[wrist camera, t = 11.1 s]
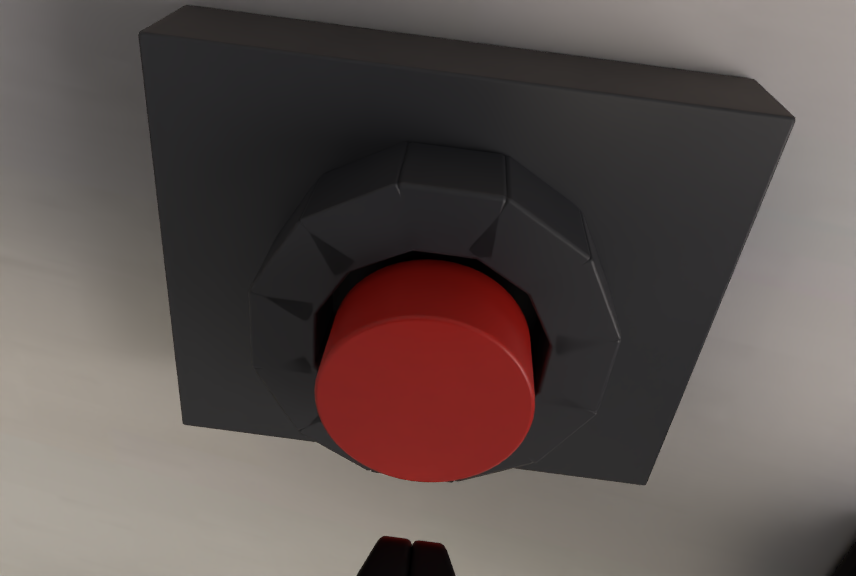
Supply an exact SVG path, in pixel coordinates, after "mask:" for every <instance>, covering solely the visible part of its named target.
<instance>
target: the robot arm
mask: <svg viewBox="0 0 856 576" xmlns="http://www.w3.org/2000/svg"><path fill="white" fill-rule="evenodd" d="M357 576H455V573H454V570H453V567H452V564H451V561H450V558H449V555H448V552H447V550H446V548H445V546H444V545H442V544H441V543H435V542H427V541H420V540H418V541H415V542H414V543H413V545H412V544H411V541H410V540H408V539H405V538H397V537H389V536H383V537H381V538H380V539H379V540H378V541H377V543H376V544H375V546H374V548H373V549H372V551H371V552H370V554H369V556H368V557H367V559H366V561H365V562H364V564H363V566H362V567H361V569H360V571H359V572H358V574H357ZM832 576H856V542H855V543H854V545H853V546H852V548H851V549H850V551H849V552H848V554H847V555H846V556H845V558H844V559H843V561H842V562H841V564H840V565H839V566H838V568H837V569H836V571H835V572H834V574H833V575H832Z"/></svg>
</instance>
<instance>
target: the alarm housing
mask: <svg viewBox="0 0 856 576" xmlns="http://www.w3.org/2000/svg"><path fill="white" fill-rule="evenodd" d="M139 44H140V53H141V61H142V70H143V79H144V88H145V96H146V105H147V114H148V123H149V131H150V140H151V149H152V158H153V166H154V175H155V184H156V193H157V201H158V210H159V219H160V228H161V236H162V245H163V254H164V263H165V271H166V280H167V289H168V298H169V306H170V315H171V324H172V333H173V341H174V350H175V359H176V368H177V376H178V385H179V394H180V403H181V411H182V420H183V424H184V425H191V426H198V427H206V428H213V429H221V430H229V431H236V432H244V433H251V434H259V435H266V436H274V437H282V438H289V439H297V440H304V441H312V442H317V443H319V444H321V445H323V446H324V447H326V448H328V449H330V450H332V451H333V452H335V453H337V454H339V455H341V456H343V457H344V458H346V459H348V460H350V461H352V462H353V463H355V464H357V465H359V466H361V467H362V468H364V469H366V470H369V471H370V470H371V471H372V472H376V473H380V472H377V471H375V470H373V469H371V468H369V467H367V466H365V465H363V464H361V463H360V462H358V461H356V460H355V459H353V458H352V457H351V456H349V455H348V454H347V453H346V452H344V451H343V450H342V449H341V448H340V447H339V446H338V445H337V444H336V443H335V442H334V441H333V439H332V438H331V437H330V435H329V434H328V433H327V431H326V429H325V428H324V426H323V424H322V422H321V419H320V417H319V415H318V411H317V407H316V403H315V392H314V389H315V380H316V376H317V373H318V370H319V366H320V363H321V360H322V357H323V354H324V351H325V347H326V344H327V341H328V338H329V335H330V332H331V329H332V325H333V322H334V319H335V316H336V313H337V310H338V308H339V306H340V304H341V302H342V301H343V299H344V298H345V296H346V295H347V293H348V292H349V291H350V290H351V289H352V288H353V287H354V286H355V285H356V284H357V283H359V282H360V281H361V280H362V279H364V278H365V277H366V276H368V275H370V274H372V273H373V272H375V271H377V270H379V269H381V268H384V267H386V266H389V265H392V264H395V263H399V262H403V261H410V260H419V259H434V260H444V261H450V262H455V263H458V264H462V265H465V266H468V267H471V268H473V269H475V270H477V271H480V272H482V273H483V274H485V275H487V276H488V277H490V278H492V279H493V280H495V281H496V282H497V283H498V284H500V285H501V286H502V287H503V288H504V289H505V290H506V291H507V292H508V293H509V294H510V295H511V296H512V297H513V298H514V300H515V301H516V302H517V304H518V305H519V306H520V308H521V310H522V312H523V314H524V316H525V319H526V321H527V324H528V328H529V333H530V341H531V354H532V366H533V379H534V391H535V411H534V417H533V421H532V424H531V427H530V429H529V431H528V433H527V435H526V437H525V438H524V440H523V442H522V443H521V444H520V445H519V447H518V448H517V449H516V450H515V451H514V452H513V453H512V454H511V455H510V456H509V457H508V458H507V459H505V460H504V461H502V462H501V463H500V464H498V465H496V466H495V467H493V468H491V469H489V470H487V471H485V472H482V473H480V474H478V475H475V476H471V477H468V478H465V479H459V480H455V481H462V480H467V479H471V478H475V477H479V476H483V475H487V474H491V473H495V472H499V471H503V470H507V469H512V468H516V469H524V470H532V471H539V472H547V473H554V474H562V475H569V476H577V477H585V478H592V479H600V480H607V481H615V482H623V483H630V484H638V485H646V483H647V481H648V479H649V476H650V474H651V471H652V469H653V466H654V464H655V462H656V459H657V457H658V454H659V452H660V449H661V447H662V444H663V442H664V440H665V437H666V435H667V432H668V430H669V427H670V425H671V423H672V420H673V418H674V415H675V413H676V410H677V408H678V405H679V403H680V401H681V398H682V396H683V393H684V391H685V388H686V386H687V384H688V381H689V379H690V376H691V374H692V371H693V369H694V367H695V364H696V362H697V359H698V357H699V354H700V352H701V349H702V347H703V345H704V342H705V340H706V337H707V335H708V332H709V330H710V328H711V325H712V323H713V320H714V318H715V315H716V313H717V311H718V308H719V306H720V303H721V301H722V298H723V296H724V293H725V291H726V289H727V286H728V284H729V281H730V279H731V276H732V274H733V272H734V269H735V267H736V264H737V262H738V259H739V257H740V254H741V252H742V250H743V247H744V245H745V242H746V240H747V237H748V235H749V233H750V230H751V228H752V225H753V223H754V220H755V218H756V216H757V213H758V211H759V208H760V206H761V203H762V201H763V198H764V196H765V194H766V191H767V189H768V186H769V184H770V181H771V179H772V177H773V174H774V172H775V169H776V167H777V164H778V162H779V159H780V157H781V155H782V152H783V150H784V147H785V145H786V142H787V140H788V138H789V135H790V133H791V130H792V128H793V125H794V123H795V117H794V116H793V115H792V114H791V113H790V112H789V111H788V110H786V109H785V108H784V107H783V106H782V105H781V104H780V103H779V102H778V101H777V100H776V99H775V98H774V97H773V96H772V95H771V94H769V93H768V92H767V91H766V90H765V89H764V88H763V87H762V86H761V85H760V84H759V83H758V82H757V81H756V80H754V79H748V78H740V77H733V76H725V75H717V74H710V73H702V72H694V71H687V70H679V69H671V68H664V67H656V66H648V65H641V64H633V63H626V62H618V61H610V60H603V59H595V58H587V57H580V56H572V55H564V54H557V53H549V52H541V51H534V50H526V49H519V48H511V47H503V46H496V45H488V44H480V43H473V42H465V41H457V40H450V39H442V38H434V37H427V36H419V35H412V34H404V33H396V32H389V31H381V30H373V29H366V28H358V27H350V26H343V25H335V24H327V23H320V22H312V21H305V20H297V19H289V18H282V17H274V16H266V15H259V14H251V13H243V12H236V11H228V10H220V9H213V8H205V7H198V6H190V5H186V6H183V7H182V8H180V9H178V10H176V11H175V12H173V13H171V14H169V15H168V16H166V17H164V18H163V19H161V20H159V21H157V22H156V23H154V24H152V25H150V26H149V27H147V28H145V29H143V30H142V31H140V32H139ZM446 482H453V481H446Z"/></svg>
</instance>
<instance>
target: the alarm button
mask: <svg viewBox="0 0 856 576" xmlns="http://www.w3.org/2000/svg"><path fill="white" fill-rule="evenodd" d="M314 392H315V403H316V407H317V411H318V415H319V417H320V419H321V422H322V424H323V426H324V428H325V429H326V431H327V433H328V434H329V435H330V437H331V438H332V439H333V441H334V442H335V443H336V444H337V445H338V446H339V447H340V448H341V449H342V450H343V451H344V452H346V453H347V454H348V455H349V456H351V457H352V458H353V459H355V460H356V461H358V462H360V463H361V464H363V465H365V466H367V467H369V468H371V469H373V470H375V471H377V472H380V473H383V474H385V475H388V476H392V477H395V478H399V479H404V480H410V481H418V482H446V481H454V480H459V479H465V478H468V477H471V476H475V475H478V474H480V473H482V472H485V471H487V470H489V469H491V468H493V467H495V466H496V465H498V464H500V463H501V462H502V461H504V460H505V459H507V458H508V457H509V456H510V455H511V454H512V453H513V452H514V451H515V450H516V449H517V448H518V447H519V445H520V444H521V443H522V442H523V440H524V438H525V437H526V435H527V433H528V431H529V429H530V427H531V424H532V421H533V417H534V411H535V391H534V379H533V366H532V354H531V341H530V333H529V328H528V324H527V321H526V319H525V316H524V314H523V312H522V310H521V308H520V306H519V305H518V304H517V302H516V301H515V300H514V298H513V297H512V296H511V295H510V294H509V293H508V292H507V291H506V290H505V289H504V288H503V287H502V286H501V285H500V284H498V283H497V282H496V281H495V280H493V279H492V278H490V277H488V276H487V275H485V274H483V273H482V272H480V271H477V270H475V269H473V268H471V267H468V266H465V265H462V264H458V263H455V262H450V261H444V260H434V259H419V260H410V261H403V262H399V263H395V264H392V265H389V266H386V267H384V268H381V269H379V270H377V271H375V272H373V273H372V274H370V275H368V276H366V277H365V278H364V279H362V280H361V281H360V282H359V283H357V284H356V285H355V286H354V287H353V288H352V289H351V290H350V291H349V292H348V293H347V295H346V296H345V298H344V299H343V301H342V302H341V304H340V306H339V308H338V310H337V313H336V316H335V319H334V322H333V325H332V329H331V332H330V335H329V338H328V341H327V344H326V347H325V351H324V354H323V357H322V360H321V363H320V366H319V370H318V373H317V376H316V380H315V389H314Z"/></svg>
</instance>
